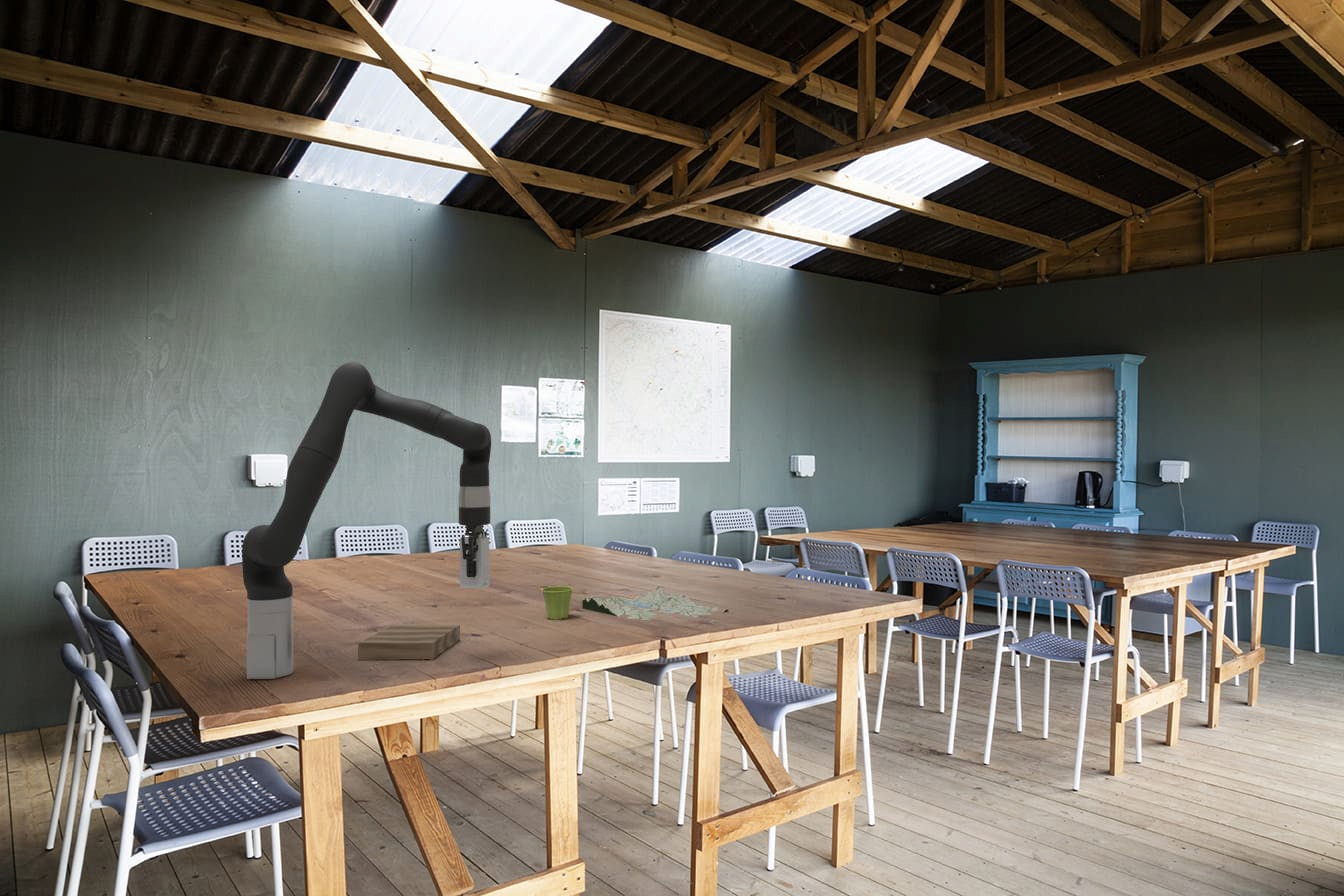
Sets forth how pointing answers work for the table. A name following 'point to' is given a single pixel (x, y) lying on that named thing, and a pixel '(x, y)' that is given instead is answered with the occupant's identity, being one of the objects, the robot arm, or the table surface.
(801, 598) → the table surface
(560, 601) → the plant pot
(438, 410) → the robot arm
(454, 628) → the walnut stand
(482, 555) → the skincare box
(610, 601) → the topographic map model
